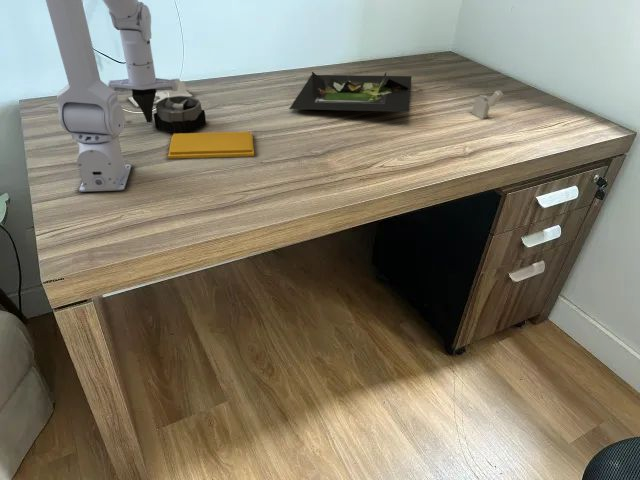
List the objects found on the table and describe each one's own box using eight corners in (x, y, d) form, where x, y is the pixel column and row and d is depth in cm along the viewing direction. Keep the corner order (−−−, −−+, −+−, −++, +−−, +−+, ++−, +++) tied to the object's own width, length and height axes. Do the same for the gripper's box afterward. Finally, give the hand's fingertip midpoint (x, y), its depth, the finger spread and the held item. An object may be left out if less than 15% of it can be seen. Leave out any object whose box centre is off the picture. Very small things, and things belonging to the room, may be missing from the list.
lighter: (471, 113, 131) (478, 83, 126) (475, 112, 132) (483, 82, 127) (491, 122, 126) (499, 92, 122) (495, 121, 127) (504, 91, 122)
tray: (254, 156, 106) (254, 150, 105) (168, 159, 103) (167, 153, 102) (252, 136, 114) (251, 131, 113) (172, 138, 111) (171, 133, 110)
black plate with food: (412, 60, 141) (409, 93, 117) (410, 87, 145) (407, 124, 121) (310, 59, 146) (287, 91, 122) (312, 85, 150) (290, 121, 126)
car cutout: (182, 89, 136) (180, 73, 133) (192, 97, 132) (190, 80, 129) (128, 99, 128) (125, 82, 126) (137, 107, 124) (134, 90, 122)
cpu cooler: (176, 91, 119) (209, 100, 115) (179, 114, 122) (211, 123, 118) (145, 105, 111) (180, 115, 108) (149, 128, 115) (183, 139, 111)
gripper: (175, 55, 111) (182, 113, 119) (107, 56, 108) (120, 114, 116) (172, 65, 105) (180, 125, 113) (101, 66, 103) (114, 126, 111)
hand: (149, 120), depth 114 cm, fingers closed
